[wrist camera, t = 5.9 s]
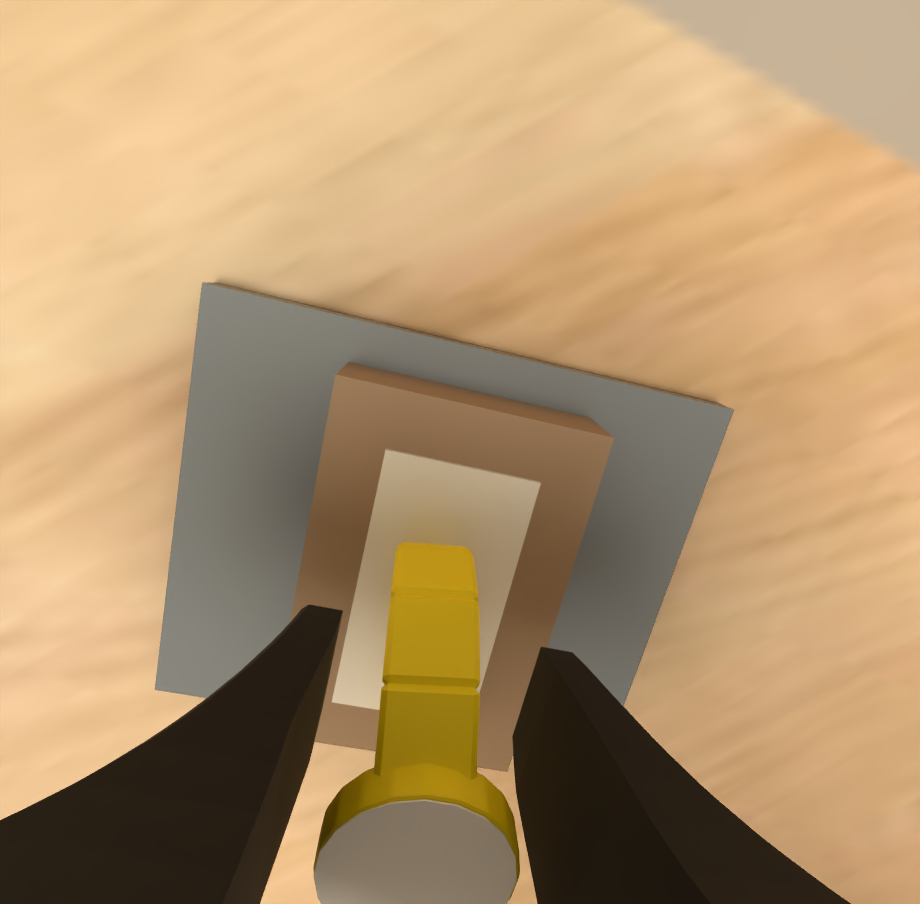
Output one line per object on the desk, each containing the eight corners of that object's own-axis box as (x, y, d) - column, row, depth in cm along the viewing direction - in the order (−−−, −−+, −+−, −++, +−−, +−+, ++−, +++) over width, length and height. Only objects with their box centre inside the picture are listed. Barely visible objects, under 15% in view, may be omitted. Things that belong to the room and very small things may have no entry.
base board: (718, 403, 15) (783, 430, 12) (595, 741, 18) (625, 824, 15) (215, 282, 14) (160, 281, 11) (167, 670, 17) (114, 748, 14)
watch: (469, 720, 14) (492, 1024, 9) (357, 715, 14) (308, 1024, 9) (499, 503, 12) (554, 721, 7) (369, 493, 12) (315, 710, 7)
